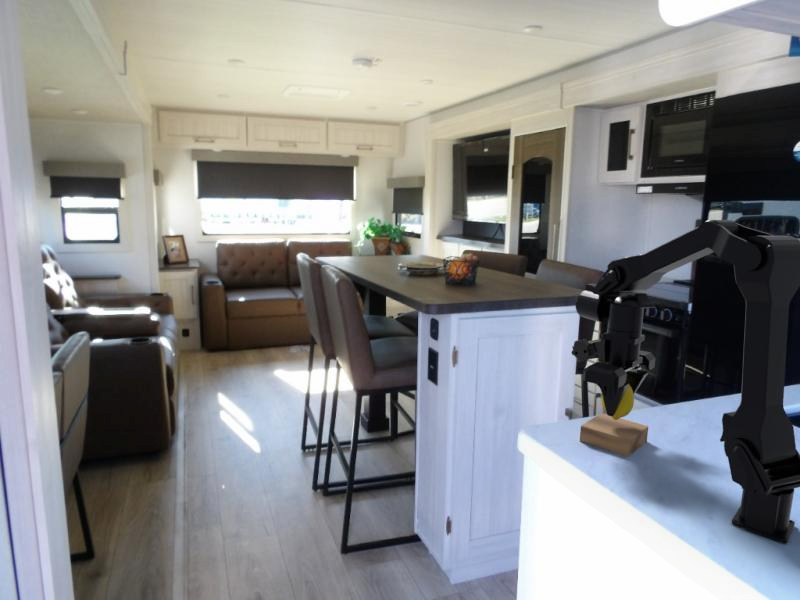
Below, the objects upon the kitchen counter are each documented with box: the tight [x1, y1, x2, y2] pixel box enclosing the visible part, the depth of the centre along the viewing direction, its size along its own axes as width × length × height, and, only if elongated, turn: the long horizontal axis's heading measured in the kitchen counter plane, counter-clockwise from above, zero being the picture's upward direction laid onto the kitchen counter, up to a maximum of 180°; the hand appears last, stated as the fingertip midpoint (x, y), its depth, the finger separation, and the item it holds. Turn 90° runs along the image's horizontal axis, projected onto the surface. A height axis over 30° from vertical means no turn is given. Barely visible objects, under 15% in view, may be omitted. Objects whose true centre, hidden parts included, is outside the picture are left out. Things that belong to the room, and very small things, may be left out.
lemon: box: [601, 382, 635, 420], centre depth 102 cm, size 6×6×8 cm
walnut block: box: [579, 412, 649, 457], centre depth 103 cm, size 9×9×3 cm
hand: (616, 411), depth 102 cm, fingers closed on lemon, 5 cm apart
